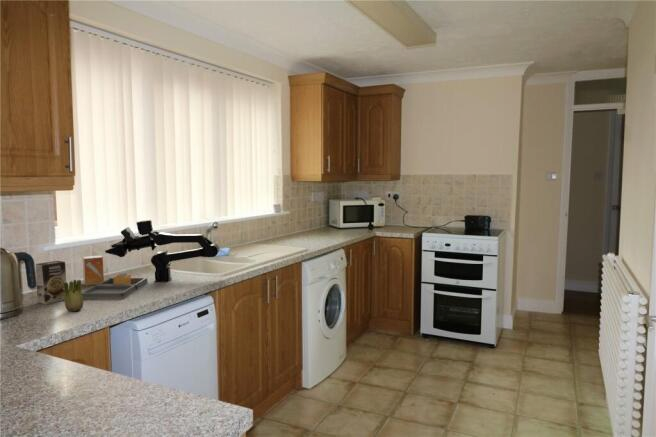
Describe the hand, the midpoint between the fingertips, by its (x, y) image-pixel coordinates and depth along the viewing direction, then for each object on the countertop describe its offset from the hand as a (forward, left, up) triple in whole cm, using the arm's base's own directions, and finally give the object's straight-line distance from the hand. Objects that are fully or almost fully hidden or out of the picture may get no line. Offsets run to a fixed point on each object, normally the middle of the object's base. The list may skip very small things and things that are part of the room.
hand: (108, 249), depth 228 cm
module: (-10, +10, -16) cm, 22 cm away
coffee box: (+9, +34, -16) cm, 39 cm away
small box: (+6, +4, -16) cm, 18 cm away
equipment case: (-10, +10, -16) cm, 21 cm away
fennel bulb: (-7, +48, -16) cm, 51 cm away
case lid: (-10, +25, -16) cm, 31 cm away
